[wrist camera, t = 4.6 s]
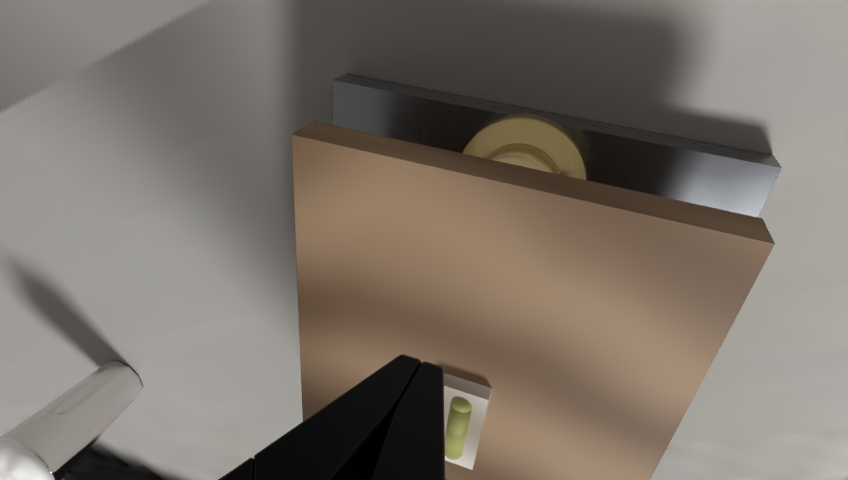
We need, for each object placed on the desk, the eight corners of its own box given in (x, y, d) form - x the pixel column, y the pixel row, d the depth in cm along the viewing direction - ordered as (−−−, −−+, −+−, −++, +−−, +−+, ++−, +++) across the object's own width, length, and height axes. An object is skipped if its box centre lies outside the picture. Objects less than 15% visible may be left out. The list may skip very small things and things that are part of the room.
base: (629, 455, 26) (629, 538, 23) (342, 360, 30) (302, 418, 26) (777, 147, 18) (816, 201, 14) (346, 66, 21) (287, 92, 18)
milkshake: (107, 336, 37) (-42, 450, 29) (160, 390, 38) (31, 514, 30) (83, 356, 39) (-62, 466, 31) (133, 406, 40) (7, 525, 32)
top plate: (609, 508, 23) (607, 581, 21) (327, 408, 26) (293, 460, 24) (756, 206, 15) (783, 261, 13) (326, 114, 18) (275, 143, 16)
